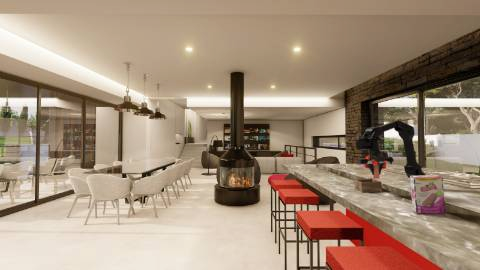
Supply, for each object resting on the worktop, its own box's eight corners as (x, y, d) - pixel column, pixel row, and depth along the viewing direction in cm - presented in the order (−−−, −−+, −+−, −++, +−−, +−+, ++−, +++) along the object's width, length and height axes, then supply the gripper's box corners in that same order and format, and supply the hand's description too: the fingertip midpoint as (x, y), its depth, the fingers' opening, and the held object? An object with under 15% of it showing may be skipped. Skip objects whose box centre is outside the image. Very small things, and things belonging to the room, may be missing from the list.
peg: (374, 177, 153) (373, 164, 153) (380, 177, 151) (378, 164, 151) (372, 178, 151) (371, 165, 151) (378, 178, 149) (377, 165, 149)
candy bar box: (416, 214, 112) (413, 177, 113) (412, 211, 117) (409, 175, 117) (446, 214, 109) (442, 176, 110) (440, 211, 114) (437, 174, 114)
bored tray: (355, 188, 171) (354, 179, 171) (373, 187, 170) (372, 178, 170) (362, 192, 159) (361, 182, 159) (382, 191, 158) (381, 181, 158)
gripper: (363, 150, 144) (365, 177, 144) (397, 147, 143) (400, 175, 142) (355, 149, 155) (358, 175, 155) (387, 147, 154) (389, 172, 153)
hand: (376, 174), depth 151 cm, fingers closed on peg, 3 cm apart
